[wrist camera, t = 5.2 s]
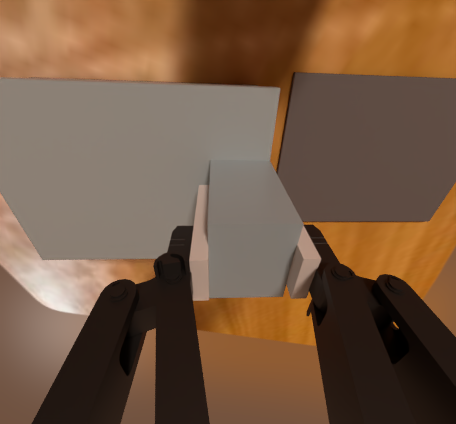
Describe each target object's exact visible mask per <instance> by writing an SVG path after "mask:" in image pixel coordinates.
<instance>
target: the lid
mask: <svg viewBox="0 0 456 424" xmlns="http://www.w3.org/2000/svg"><path fill="white" fill-rule="evenodd" d="M279 95H280V88H278V87H265V86H237V85H208V84H180V83H151V82H123V81H94V80H66V79H38V78H9V77H0V193H1V194H2V196H3V198H4V199H5V201H6V202H7V204H8V206H9V207H10V209H11V210H12V212H13V214H14V215H15V217H16V218H17V220H18V222H19V223H20V225H21V226H22V228H23V230H24V231H25V233H26V234H27V236H28V238H29V239H30V241H31V242H32V244H33V246H34V247H35V249H36V250H37V252H38V253H39V255H40V257H41V258H42V260H83V259H157V258H158V257H159V256H161V255H162V254H164V253H167V251H168V247H169V243H170V240H171V235H172V231H173V230H174V229H175V228H176V227H177V226H194V220H195V212H196V204H197V196H198V188H199V185H209V204H208V245H209V298H238V297H283V294H284V290H285V287H286V282H287V278H288V275H289V271H290V268H291V264H292V261H293V257H294V254H295V250H296V247H297V244H298V242H299V238H300V235H301V231H302V228H303V222H302V220H301V218H300V216H299V214H298V213H297V211H296V209H295V207H294V205H293V203H292V201H291V199H290V198H289V196H288V194H287V192H286V190H285V188H284V186H283V185H282V183H281V181H280V179H279V177H278V175H277V173H276V171H275V170H274V168H273V166H272V164H271V162H270V156H271V149H272V142H273V135H274V129H275V122H276V115H277V108H278V102H279Z"/></svg>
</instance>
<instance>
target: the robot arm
mask: <svg viewBox="0 0 456 424" xmlns="http://www.w3.org/2000/svg"><path fill="white" fill-rule="evenodd" d="M208 204H209V185H199V188H198V196H197V204H196V212H195V220H194V226H177V227H176V228H175V229H174V230H173V231H172V235H171V240H170V243H169V247H168V251H167V253H164V254H162V255H161V256H159V257H158V258H157V259H156V260H155V262H154V266H153V267H154V271H155V275H156V277H155V278H153V279H151V280H149V281H146V282H142V283H139V284H135V283H134V282H132V281H131V280H127V279H122V280H117V281H115V282H112V283H111V284H109V285H108V286H107V287H105V288H104V290H103V291H102V292H101V294H100V296H99V298H98V300H97V302H96V303H95V305H94V307H93V309H92V311H91V313H90V315H89V317H88V319H87V320H86V322H85V324H84V326H83V328H82V330H81V332H80V334H79V336H78V337H77V339H76V341H75V343H74V345H73V347H72V349H71V351H70V352H69V355H68V356H67V358H66V360H65V362H64V364H63V366H62V367H61V370H60V371H59V373H58V375H57V377H56V379H55V381H54V383H53V384H52V386H51V388H50V390H49V392H48V394H47V396H46V398H45V399H44V402H43V403H42V405H41V407H40V409H39V411H38V413H37V415H36V417H35V418H34V421H33V422H32V424H120V423H121V419H122V415H123V412H124V409H125V405H126V402H127V398H128V395H129V391H130V388H131V385H132V381H133V377H134V374H135V371H136V367H137V364H138V360H139V357H140V353H141V350H142V346H143V343H144V340H145V336H146V332H147V331H149V330H152V329H154V328H156V384H155V386H156V387H155V388H156V389H155V424H210V423H209V416H208V408H207V402H206V395H205V387H204V380H203V372H202V365H201V358H200V351H199V343H198V336H197V329H196V321H195V314H194V307H193V301H203V300H209V245H208ZM286 284H287V287H288V290H289V294H290V297H291V298H306V297H307V295H308V292H310V294H311V297H312V300H311V303H310V305H309V308H308V310H307V316H309V315H310V312H311V314H312V320H313V326H314V332H315V338H316V345H317V351H318V356H319V363H320V369H321V375H322V381H323V387H324V393H325V398H326V405H327V411H328V417H329V423H330V424H456V337H455V336H454V335H453V334H452V333H451V331H450V330H449V329H448V328H447V327H446V326H445V325H444V324H443V323H442V322H441V320H440V319H439V318H438V317H437V316H436V315H435V314H434V313H433V311H432V310H431V309H430V308H429V307H428V306H427V305H426V304H425V303H424V301H423V300H422V299H421V298H420V297H419V296H418V295H417V294H416V292H415V291H414V290H413V289H412V288H411V287H410V286H409V285H408V284H407V283H406V282H405V281H403V280H401V279H400V278H398V277H395V276H392V275H387V274H383V275H380V276H379V277H378V278H377V280H376V281H375V280H371V279H367V278H363V277H359V276H356V275H355V273H354V272H353V271H352V270H351V269H350V268H349V267H347V266H345V265H343V264H340V263H339V261H338V259H337V258H336V256H335V254H334V253H333V251H332V249H331V248H330V246H329V245H328V244H327V241H326V240H325V238H324V236H323V235H322V233H321V231H320V230H319V229H318V228H316V227H315V226H314V225H303V228H302V231H301V235H300V238H299V242H298V244H297V247H296V250H295V254H294V257H293V261H292V264H291V268H290V271H289V275H288V278H287V282H286ZM393 322H395V323H396V325H397V326H398V327H399V329H398V328H397V327H396V326H395V325H394V324H393Z"/></svg>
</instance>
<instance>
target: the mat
mask: <svg viewBox="0 0 456 424" xmlns="http://www.w3.org/2000/svg"><path fill="white" fill-rule="evenodd" d="M277 175H278V177H279V179H280V181H281V183H282V185H283V186H284V188H285V190H286V192H287V194H288V196H289V198H290V199H291V201H292V203H293V205H294V207H295V209H296V211H297V213H298V214H299V216H300V218H301V220H302V221H430V219H431V218H432V216H433V215H434V213H435V212H436V210H437V209H438V207H439V206H440V204H441V203H442V201H443V200H444V198H445V197H446V195H447V194H448V193H449V191H450V190H451V188H452V187H453V185H454V184H455V182H456V79H453V78H427V77H400V76H374V75H348V74H322V73H296V72H294V75H293V81H292V87H291V93H290V99H289V104H288V110H287V116H286V122H285V128H284V134H283V140H282V146H281V151H280V157H279V163H278V169H277Z"/></svg>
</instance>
